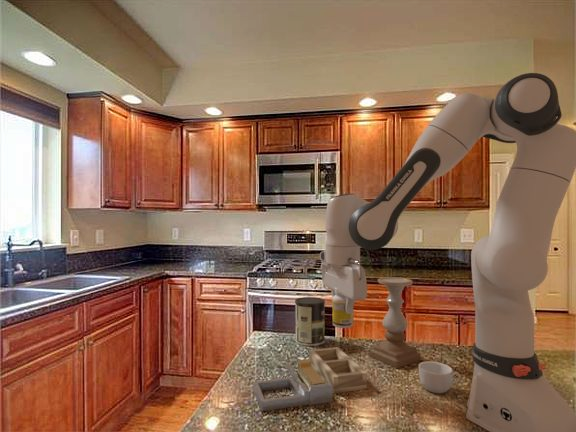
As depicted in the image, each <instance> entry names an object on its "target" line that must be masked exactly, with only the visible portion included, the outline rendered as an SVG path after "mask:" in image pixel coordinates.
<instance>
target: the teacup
mask: <svg viewBox="0 0 576 432" xmlns="http://www.w3.org/2000/svg"><path fill="white" fill-rule="evenodd" d="M455 375H458V378H457V379H455V380H453V377H454V376H455ZM418 376H419V381H420V384H421V385H422V386H423V388H424V389H425V390H427V391H428V392H429V393H434V394H444V393H446V392H448V391H449V389H451V386H452V385H454V384H457V383H458V382H460V381H461V379H462V377H461V374H460V373H459V372H457V371H454V370H453V368H452V367H450V366H449V365H448V364H445V363H442V362H437V361H422V362H420V363H419V364H418Z"/></svg>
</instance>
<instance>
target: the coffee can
mask: <svg viewBox="0 0 576 432" xmlns="http://www.w3.org/2000/svg"><path fill="white" fill-rule="evenodd" d="M294 303H295V304H294V305H295V310H294V311H295V342H296V344H298V345H301V346H304V347H305V346H306V347H318V346H321V345H323V344H325V341H326V340H325V337H326V336H325V306H326V305H325V303H326V301H325V299H324V298H321V297H314V296H305V297H299V298H296V299H295V300H294Z"/></svg>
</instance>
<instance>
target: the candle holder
mask: <svg viewBox="0 0 576 432" xmlns="http://www.w3.org/2000/svg"><path fill="white" fill-rule="evenodd" d="M377 282H378V284H380V285H384V286H385V287H386V289H387V290H388V296H387V298H386V299H385V301H386V302H387V305H388V310H387V312H386V314H385V315H384V317H383V319H382V326H383V328H384V329H385V330H386V331H385V332H384V338H385V339H384V340H383V341H382V342H380V343H377V344H374V345H373V347H372V349H370V350H369V357H370V358H372V359H374V360H377V361H379V362H381V363H384V364H385V365H388V366H390V367H392V368H395V369H400V368H404V367H406V366H407V367H408V366H410V365H412V364H415V363H418V362H420V361H421V359H422V358H421V357H422V354H421V353H419V352H418V349H417V348H416V347H413V346H411V345H408V343H407V342H405V340H406V334H405V333H404V331H406V330H407V329H408V321H407V319H406V317H405V315H404V314H403V313H402V306H403V303H405V301H404V299H403V298H402V292H403V290H404V289H405V287H407V286H408V287H410V286H412V285H413V282H414V281H413V280H412V279H409V278H406V277H398V276H397V277H395V276H386V277H380V278H378V279H377Z"/></svg>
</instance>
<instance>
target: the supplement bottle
mask: <svg viewBox="0 0 576 432" xmlns="http://www.w3.org/2000/svg"><path fill="white" fill-rule="evenodd" d="M335 294H336V295H335V296H333V297H332V299H331V300H332V301H331V303H332V304H331V306H332V310H331V311H332V318H331V319H332V326H334V327H336V328H339V329H349V328H352V327H353V326H354V322H355V321H354V318H355V317H354V312H353V313H352V314H347V313H345V312H344V306H346V301H347V300H345V296H344V295H342V294H340V293H339V292H338V289H337V288H335Z"/></svg>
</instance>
